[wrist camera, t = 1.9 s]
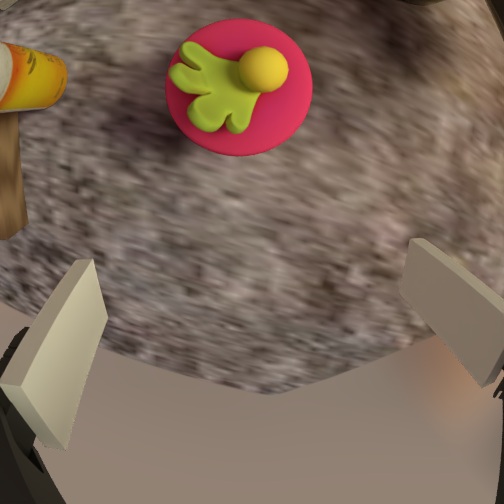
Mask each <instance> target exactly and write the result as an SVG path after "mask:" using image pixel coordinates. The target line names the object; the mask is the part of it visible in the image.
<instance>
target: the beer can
mask: <svg viewBox="0 0 504 504" xmlns="http://www.w3.org/2000/svg"><path fill="white" fill-rule="evenodd" d="M66 84H67V68H66V66H65V64H64V62H63V61H62V60H61V59H60V58H58V57H56V56H54V55H50V54H47V53H43V52H40V51H36V50H32V49H29V48H25V47H21V46H17V45H13V44H9V43H5V42H0V113H5V112H15V111H27V110H41V109H46V108H48V107H50V106H52V105H53V104H54V103H55V102H56V101H57V100H58V99H59V98H60V97H61V95H62V94H63V92H64V90H65V87H66Z"/></svg>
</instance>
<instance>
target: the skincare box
mask: <svg viewBox="0 0 504 504" xmlns="http://www.w3.org/2000/svg"><path fill="white" fill-rule="evenodd" d="M17 1H19V0H0V9H1V10H6V9H8V8H9V7H10V6H12V5H13V4H14V3H16V2H17Z"/></svg>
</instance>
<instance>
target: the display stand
mask: <svg viewBox="0 0 504 504" xmlns="http://www.w3.org/2000/svg"><path fill="white" fill-rule="evenodd" d="M27 224H28V217H27V211H26V204H25V197H24V190H23V182H22V172H21V161H20V147H19V122H18V111H15V112H5V113H0V240H5V239H9V238H11V237H12V236H13V235H14V234H16V233H17V232H18V231H19V230H21V229H22V228H23V227H24V226H26V225H27Z"/></svg>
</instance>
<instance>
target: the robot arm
mask: <svg viewBox="0 0 504 504" xmlns="http://www.w3.org/2000/svg"><path fill="white" fill-rule="evenodd" d="M404 1H406V2H409V3H412V4H416V5H432V4H435V3H438V2H442V1H444V0H404ZM485 2H486V4H487V6H488V8H489V10H490V12H491V14H492V16H493V18H494V20H495V22H496V24H497V27H498V29H499V31H500V33H501V36H502V38H503V41H504V0H485ZM399 294H400V295H401V296H402V297H403V298H404V299H405V300H406V301H407V302H408V303H409V304H410V305H411V306H412V308H413V309H414V310H415V311H416V312H417V313H418V314H419V315H420V316H421V317H422V319H423V320H424V321H425V322H426V323H427V324H428V325H429V326H430V328H431V329H432V330H433V331H434V332H435V333H436V334H437V335H438V337H439V338H440V339H441V340H442V341H443V342H444V343H445V345H446V346H447V347H448V348H449V349H450V350H451V352H452V353H453V354H454V355H455V356H456V358H457V359H458V360H459V361H460V362H461V364H462V365H463V366H464V367H465V368H466V370H467V371H468V372H469V373H470V375H471V376H472V377H473V378H474V379H475V381H476V382H477V383H478V384H479V385H480V387H481V388H483V387H485V386H487V385H489V384H491V383H493V382H494V381H495V380H496V378H497V376H498V375H499V373H500V371H501V369H503V370H504V299H502V298H501V297H500V296H499V295H498V294H496V293H495V292H494V291H493V290H492V289H490V288H489V287H488V286H487V285H485V284H484V283H483V282H482V281H480V280H479V279H478V278H477V277H475V276H474V275H473V274H471V273H470V272H469V271H468V270H466V269H465V268H464V267H462V266H461V265H460V264H458V263H457V262H456V261H454V260H453V259H452V258H450V257H449V256H448V255H446V254H445V253H443V252H442V251H441V250H439V249H438V248H437V247H435V246H434V245H432V244H431V243H429V242H428V241H427V240H425V239H424V238H413V239H410V242H409V247H408V252H407V257H406V262H405V267H404V272H403V276H402V280H401V285H400V289H399ZM107 319H108V315H107V312H106V308H105V305H104V301H103V298H102V294H101V290H100V286H99V282H98V278H97V274H96V270H95V266H94V261H93V259H82V260H76V261H75V262H74V263H73V265H72V266H71V267H70V269H69V270H68V271H67V273H66V274H65V276H64V277H63V278H62V280H61V281H60V283H59V284H58V285H57V287H56V288H55V290H54V291H53V293H52V294H51V296H50V297H49V299H48V300H47V301H46V303H45V304H44V306H43V308H42V309H41V311H40V312H39V314H38V315H37V317H36V318H35V320H34V321H33V323H32V325H31V327H24V329H22V330H21V331H20V332H19V333H18V334H17V335H15V336H14V338H13V340H12V342H11V343H10V345H9V346H8V349H7V350H6V351H5V353H4V355H3V357H2V358H1V360H0V504H66V503H65V501H64V499H63V498H62V496H61V494H60V493H59V491H58V489H57V488H56V486H55V484H54V482H53V480H52V479H51V477H50V475H49V473H48V471H47V469H46V467H45V465H44V464H43V461H42V459H41V457H40V455H39V453H38V451H37V450H36V449H35V447H34V446H33V443H34V440H35V437H37V438H38V439H39V440H40V442H41V443H42V444H43V445H44V446H45V447H48V448H53V449H59V450H65V451H66V450H67V446H68V442H69V438H70V434H71V430H72V427H73V423H74V419H75V416H76V412H77V408H78V405H79V402H80V398H81V395H82V392H83V389H84V385H85V382H86V379H87V376H88V373H89V370H90V367H91V364H92V361H93V358H94V355H95V352H96V349H97V346H98V344H99V341H100V338H101V335H102V333H103V330H104V327H105V325H106V322H107ZM499 391H502V393H501V395H500V396H499V398H500V399H503V432H502V433H503V434H502V452H501V464H500V475H499V482H498V490H497V496H496V502H495V504H504V377H503V379H502V381H501V382H500V384H499V386H498V388H497V389H496V391H495V392H494V395H493V397H494V398H495V397H496V396H497V394H498V393H499Z"/></svg>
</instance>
